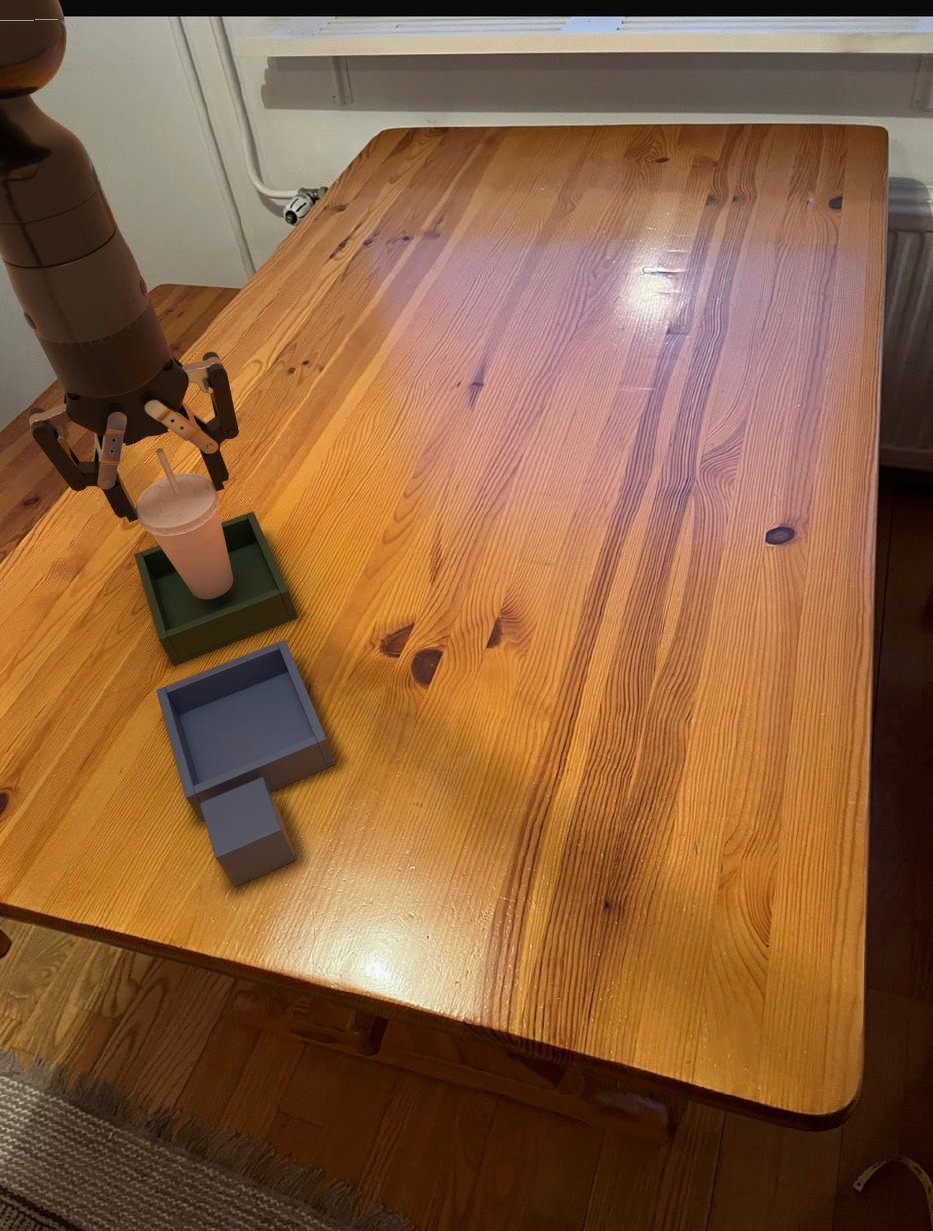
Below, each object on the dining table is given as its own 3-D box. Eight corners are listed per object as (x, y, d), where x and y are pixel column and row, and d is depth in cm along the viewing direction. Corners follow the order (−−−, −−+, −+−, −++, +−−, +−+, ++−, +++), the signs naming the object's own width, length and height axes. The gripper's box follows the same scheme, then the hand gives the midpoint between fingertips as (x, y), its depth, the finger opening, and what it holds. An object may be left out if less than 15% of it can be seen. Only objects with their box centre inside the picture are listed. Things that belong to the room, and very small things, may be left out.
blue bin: (201, 821, 67) (185, 797, 64) (171, 715, 73) (155, 689, 71) (336, 764, 69) (326, 738, 66) (295, 665, 75) (285, 638, 73)
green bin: (173, 666, 77) (158, 639, 74) (147, 580, 83) (133, 553, 81) (298, 617, 79) (288, 590, 76) (263, 538, 86) (253, 510, 83)
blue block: (234, 887, 63) (215, 858, 60) (219, 833, 66) (199, 802, 63) (297, 860, 64) (281, 829, 61) (279, 808, 67) (262, 776, 64)
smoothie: (260, 560, 81) (212, 431, 70) (231, 615, 77) (177, 488, 66) (193, 552, 82) (136, 425, 72) (162, 606, 78) (97, 480, 68)
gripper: (185, 249, 63) (251, 442, 76) (-30, 312, 60) (76, 502, 73) (211, 299, 59) (276, 496, 71) (-20, 370, 56) (91, 563, 68)
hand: (175, 499), depth 72 cm, fingers closed on smoothie, 6 cm apart
